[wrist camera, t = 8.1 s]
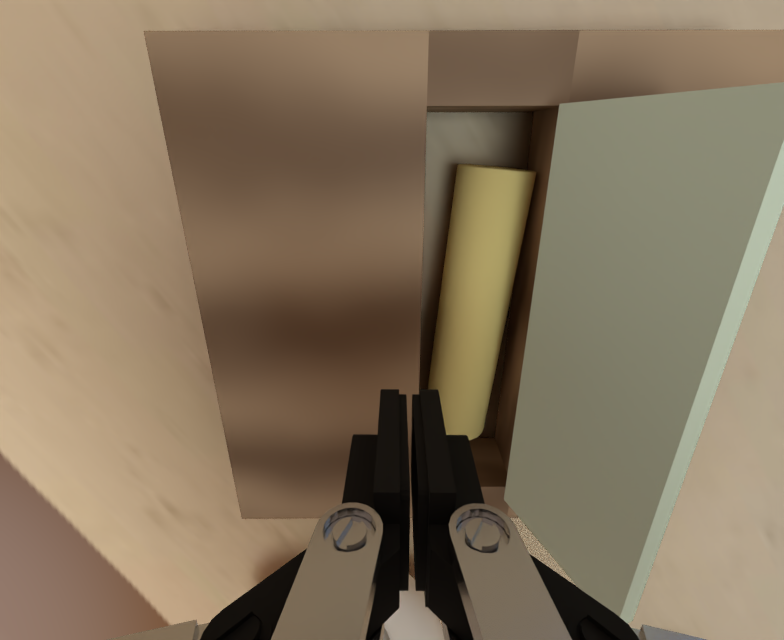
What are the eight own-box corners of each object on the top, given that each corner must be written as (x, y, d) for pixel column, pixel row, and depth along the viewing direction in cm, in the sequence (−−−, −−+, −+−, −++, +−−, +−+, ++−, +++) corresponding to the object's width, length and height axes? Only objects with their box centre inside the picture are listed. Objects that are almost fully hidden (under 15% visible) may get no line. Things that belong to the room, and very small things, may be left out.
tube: (496, 432, 20) (443, 447, 19) (462, 399, 23) (413, 409, 22) (553, 173, 16) (488, 170, 14) (503, 166, 18) (443, 162, 17)
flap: (503, 499, 19) (517, 494, 19) (615, 631, 14) (632, 621, 14) (559, 103, 13) (579, 104, 13) (804, 80, 7) (828, 82, 8)
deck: (614, 465, 24) (680, 562, 18) (261, 466, 24) (223, 564, 18) (727, 51, 16) (904, 6, 10) (194, 53, 16) (90, 8, 10)
